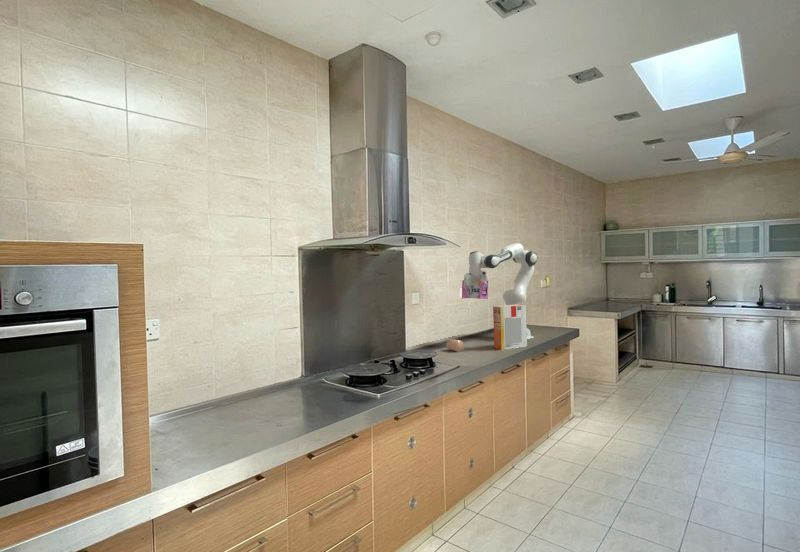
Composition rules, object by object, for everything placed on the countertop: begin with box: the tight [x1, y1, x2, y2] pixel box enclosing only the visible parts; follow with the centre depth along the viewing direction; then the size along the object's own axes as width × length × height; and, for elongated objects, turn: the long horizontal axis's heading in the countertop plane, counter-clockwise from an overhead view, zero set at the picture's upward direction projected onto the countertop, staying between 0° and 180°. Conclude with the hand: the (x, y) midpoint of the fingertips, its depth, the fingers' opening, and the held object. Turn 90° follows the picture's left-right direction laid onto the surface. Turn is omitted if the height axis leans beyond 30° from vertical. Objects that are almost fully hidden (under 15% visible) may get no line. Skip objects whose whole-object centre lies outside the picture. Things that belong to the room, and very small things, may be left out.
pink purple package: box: [461, 279, 489, 300], centre depth 322 cm, size 24×8×14 cm, turn 28°
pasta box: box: [492, 304, 528, 351], centre depth 307 cm, size 23×8×30 cm, turn 116°
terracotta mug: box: [446, 338, 465, 353], centre depth 302 cm, size 10×8×9 cm
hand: (475, 291), depth 322 cm, fingers closed on pink purple package, 7 cm apart
